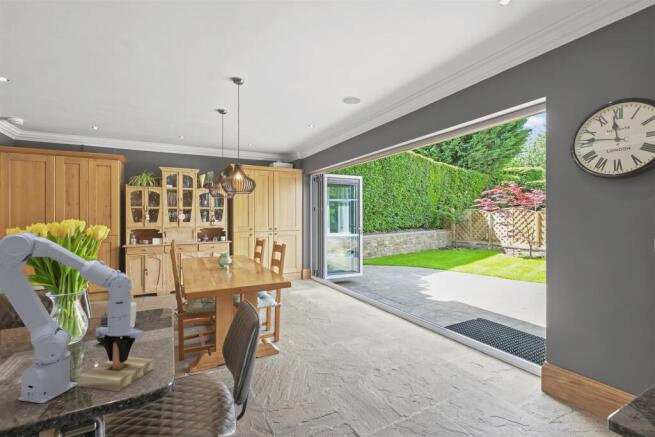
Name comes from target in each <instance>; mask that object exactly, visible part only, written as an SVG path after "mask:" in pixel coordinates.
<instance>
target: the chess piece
mask: <svg viewBox="0 0 655 437" xmlns="http://www.w3.org/2000/svg"><path fill="white" fill-rule="evenodd" d="M100 327H108V313H107V312H104V314H103V315H101V316H100V324H99V328H100ZM104 337H105V335H99V336H97V335H95V338H96V341H97V342H98V343H97V344H96V347H97V346H99V347H98V348H104V347H103V344H102V343H101V342H100V340H101V339H102V338H104ZM101 346H102V347H101Z"/></svg>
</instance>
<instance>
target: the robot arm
mask: <svg viewBox="0 0 655 437" xmlns="http://www.w3.org/2000/svg"><path fill="white" fill-rule="evenodd" d="M29 258H50V259H52V260H55V261H56V262H59V263H62V264H64V265H65V266H68V267H70V268H71V269H75V270H77V271H78V272H79V273H80V275H79V276H80V277H81V279H84V280H85V281H88V282H90V283H92V284H94V285H96V286H98V287H99V288H102V289H107V292H108V294H109V296H108V297H109V298H108V300H107V301H108V302H107V315H108V327H100V326H99V327H98V328H95V330H94V331H95V336H96V335H97V336H99V335H105V337H104V338H102V339H101V340H100V342H101V343H102V344H103V346H104V347H103V348H104V349H105V351H106V354H107V357H108V361H110V362H112V361H113V342H115V341H116V343H117V346H118V349H119V361H120V363H122V362H124V361H126V360H127V359H128V357H129V355H130V351H131V349H132V347H133V345H134V343H135V341H136V340H140V339H142V338H143V336H144V335H143V334H144V332H143V330H140V329H137V328H135V327H133V328H132V326H130V322H131V302H132V298H131V297H132V296H131V290H132V287H133V285H132V279H131V277H130V276H129V275H128V274H127V273H125V272H121V270H120V269H117V270H116V269H113V268H112V267H109V265H106V262H105V261H104V260H100V261H98V260H96V259H95V260H89V261H88V260H86V259H85V258H83V257H80V256H79V255H78V254H76V253H74V252H72V251H70V250H69V249H67V248H65V247H63V246H61V245H59V244H57V243H56V242H54V241H52V240H50V239H49V238H48V239H47V238H45V237H43V236H38V234H36V233H34V232H29V231H24V232H19V233H15V232H14V233H10V234H7V235H5V236H4V237H2V238H1V239H0V289H1V291H2V292H3V293H4V296H5V297H6V299H7V300H8V302H9V303H10V305H11V306H12V307H13V308H14V310H15V312H16V313H17V315H18V316H19V318H20V320H21V321H22V323H23V324H24V326H25V327H26V329H27V330H28V332H29V335H30V343H31V345H32V346H33V349H34V350H33V356H34V358H35V359H34V360H35V361H34V363H32V365H31V366H29V367H28V368H25V369H24V371H22V374H21V378H20V380H21V381H20V397H18V401H23V402H30V403H37V404H45V403H47V402H49V401H50V400H52V399H54V398H56V397H58V396H60V395H62V394H63V393H65V392H68V391H69V390H71V389H73V388H75V387H76V386H79V382H74V381H71V352H70V350H69V349H68V348H67V347H68V346H69V344H70V343H71V340H72V335H71V333H70V332H69V331H68V330H66V329H64V328H63V327H61V326H60V324H59V323H58V322H57V321H56V320H54V319H53V318H52V316H51V315H50V313H49V312H48V310H47V309H46V307H45V305H44V304H43V302H42V300H41V299H40V297H39V296H38V294H37V293H36V291H35V289H34V288H33V286H32V285H31V283H30V281H29V280H28V277H27V276H26V275H25V273H24V272H23V269H24V267H25V265H26V264H27V262H28V261H29ZM100 342H99V343H100Z"/></svg>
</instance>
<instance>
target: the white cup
mask: <svg viewBox="0 0 655 437" xmlns="http://www.w3.org/2000/svg"><path fill="white" fill-rule="evenodd" d="M137 305H138V302H133V301H131V322H130V326H132V328H135V325H136V318H137V307H138V306H137Z"/></svg>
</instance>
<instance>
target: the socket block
mask: <svg viewBox="0 0 655 437" xmlns="http://www.w3.org/2000/svg"><path fill="white" fill-rule="evenodd" d="M112 367H113V361H112V362H110V361H109V360H107V361H104V362H103V363H101V364H99V365H97V366H95V367H93V368H91V369H89V370H87V371H85V372H83V373H81V374H79V375H78V386H79V387H82V388H91V389H99V390H107V391H116V392H120V391H121V390H123V389H125V388H126V387H128V386H129V385H131V384H132V383H134V382H136V381H137V380H138V379H140V378H142V377H143V376H146V374H148V373H149V372H151V371H152V370H154V359H151V358H143V357H133V356H128V359H127V360H126V361H125V368H124V369H122V370H120V371H112Z"/></svg>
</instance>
